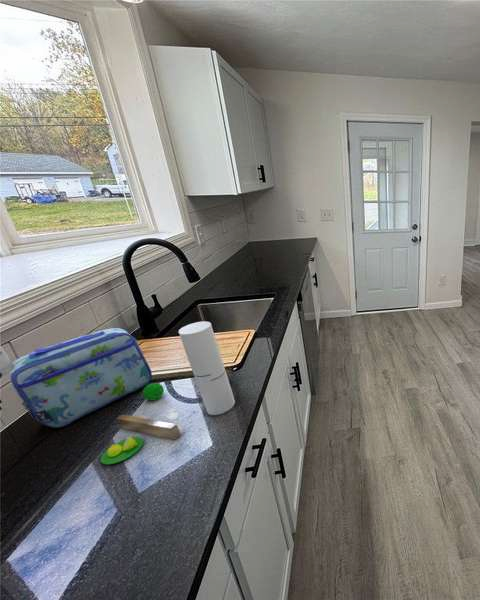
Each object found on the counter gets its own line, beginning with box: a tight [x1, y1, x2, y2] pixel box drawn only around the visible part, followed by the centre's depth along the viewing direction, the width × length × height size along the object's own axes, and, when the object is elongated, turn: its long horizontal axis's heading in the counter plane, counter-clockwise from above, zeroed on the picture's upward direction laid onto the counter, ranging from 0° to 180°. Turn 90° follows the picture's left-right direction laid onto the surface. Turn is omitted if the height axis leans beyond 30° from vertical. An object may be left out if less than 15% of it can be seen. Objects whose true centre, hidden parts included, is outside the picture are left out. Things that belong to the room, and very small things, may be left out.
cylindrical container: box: [178, 321, 236, 416], centre depth 84 cm, size 7×7×25 cm
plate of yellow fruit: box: [100, 436, 144, 465], centre depth 75 cm, size 8×8×3 cm
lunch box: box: [8, 327, 153, 429], centre depth 89 cm, size 26×11×21 cm, turn 144°
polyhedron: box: [141, 382, 165, 401], centre depth 93 cm, size 5×5×5 cm
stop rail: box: [116, 413, 182, 440], centre depth 80 cm, size 18×2×4 cm, turn 75°
